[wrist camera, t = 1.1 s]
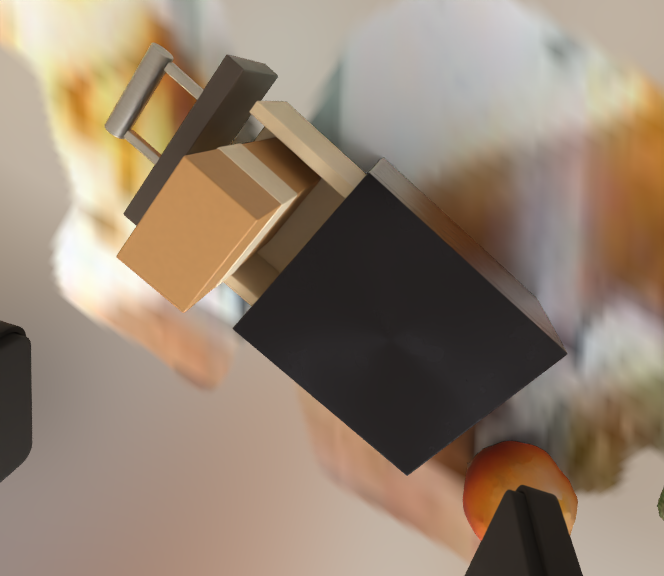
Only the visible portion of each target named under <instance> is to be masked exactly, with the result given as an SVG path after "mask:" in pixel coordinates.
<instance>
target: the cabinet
mask: <svg viewBox="0 0 664 576" xmlns="http://www.w3.org/2000/svg"><path fill="white" fill-rule="evenodd" d="M233 330H235V331H236V332H237V333H238V334H239V335H241V336H242V337H243V338H244V339H245V340H246V341H248V342H249V343H250V344H251V345H252V346H254V347H255V348H256V349H257V350H258V351H260V352H261V353H262V354H263V355H264V356H265V357H267V358H268V359H269V360H270V361H272V362H273V363H274V364H275V365H276V366H277V367H279V368H280V369H281V370H282V371H283V372H284V373H286V374H287V375H288V376H289V377H290V378H292V379H293V380H294V381H295V382H296V383H297V384H299V385H300V386H301V387H302V388H303V389H305V390H306V391H307V392H308V393H309V394H311V395H312V396H313V397H314V398H315V399H316V400H318V401H319V402H320V403H321V404H322V405H324V406H325V407H326V408H327V409H328V410H329V411H331V412H332V413H333V414H334V415H335V416H337V417H338V418H339V419H340V420H341V421H343V422H344V423H345V424H346V425H347V426H348V427H350V428H351V429H352V430H353V431H354V432H356V433H357V434H358V435H359V436H360V437H361V438H363V439H364V440H365V441H366V442H367V443H369V444H370V445H371V446H372V447H373V448H375V449H376V450H377V451H378V452H379V453H380V454H382V455H383V456H384V457H385V458H386V459H388V460H389V461H390V462H391V463H392V464H393V465H395V466H396V467H397V468H398V469H399V470H401V471H402V472H403V473H404V474H405V475H407V476H408V475H409V474H410V473H412V472H413V471H414V470H416V469H417V468H418V467H420V466H421V465H422V464H424V463H425V462H426V461H428V460H429V459H430V458H432V457H433V456H434V455H435V454H437V453H438V452H439V451H441V450H442V449H443V448H445V447H446V446H447V445H449V444H450V443H451V442H453V441H454V440H455V439H456V438H458V437H459V436H460V435H462V434H463V433H464V432H466V431H467V430H468V429H470V428H471V427H472V426H474V425H475V424H476V423H478V422H479V421H480V420H481V419H483V418H484V417H485V416H487V415H488V414H489V413H491V412H492V411H493V410H495V409H496V408H497V407H499V406H500V405H501V404H503V403H504V402H505V401H506V400H508V399H509V398H510V397H512V396H513V395H514V394H516V393H517V392H518V391H520V390H521V389H522V388H524V387H525V386H526V385H528V384H529V383H530V382H531V381H533V380H534V379H535V378H537V377H538V376H539V375H541V374H542V373H543V372H545V371H546V370H547V369H549V368H550V367H551V366H552V365H554V364H555V363H556V362H558V361H559V360H560V359H562V358H563V357H564V356H566V355H567V354H568V353H567V351H566V350H565V348H564V346H563V344H562V342H561V340H560V339H559V337H558V335H557V333H556V331H555V330H554V328H553V326H552V324H551V322H550V320H549V319H548V317H547V315H546V313H545V311H544V310H543V308H542V306H541V304H540V303H539V301H538V299H537V298H536V297H535V296H534V295H533V294H532V293H531V292H529V291H528V290H527V289H526V288H525V287H524V286H523V285H522V284H521V283H520V282H519V281H518V280H516V279H515V278H514V277H513V276H512V275H511V274H510V273H509V272H508V271H507V270H506V269H504V268H503V267H502V266H501V265H500V264H499V263H498V262H497V261H496V260H495V259H494V258H492V257H491V256H490V255H489V254H488V253H487V252H486V251H485V250H484V249H483V248H482V247H481V246H479V245H478V244H477V243H476V242H475V241H474V240H473V239H472V238H471V237H470V236H469V235H467V234H466V233H465V232H464V231H463V230H462V229H461V228H460V227H459V226H458V225H457V224H456V223H454V222H453V221H452V220H451V219H450V218H449V217H448V216H447V215H446V214H445V213H444V212H442V211H441V210H440V209H439V208H438V207H437V206H436V205H435V204H434V203H433V202H432V201H431V200H429V199H428V198H427V197H426V196H425V195H424V194H423V193H422V192H421V191H420V190H419V189H417V188H416V187H415V186H414V185H413V184H412V183H411V182H410V181H409V180H408V179H407V178H405V177H404V176H403V175H402V174H401V173H400V172H399V171H398V170H397V169H396V168H395V167H394V166H392V165H391V164H390V163H389V162H388V161H387V160H386V159H385V158H381V160H380V161H379V162H378V163H377V164H376V165H375V166H374V167H373V168H372V169H371V170H370V171H369V172H368V173H367V175H366V176H365V177H364V178H363V179H362V180H361V181H360V183H359V184H358V185H357V186H356V187H355V188H354V189H353V191H352V192H351V193H350V194H349V195H348V196H347V197H346V199H345V200H344V201H343V202H342V203H341V204H340V206H339V207H338V208H337V209H336V210H335V211H334V212H333V214H332V215H331V216H330V217H329V218H328V219H327V220H326V222H325V223H324V224H323V225H322V226H321V227H320V229H319V230H318V231H317V232H316V233H315V234H314V235H313V237H312V238H311V239H310V240H309V241H308V242H307V243H306V245H305V246H304V247H303V248H302V249H301V250H300V251H299V253H298V254H297V255H296V256H295V257H294V258H293V260H292V261H291V262H290V263H289V264H288V265H287V266H286V268H285V269H284V270H283V271H282V272H281V273H280V274H279V276H278V277H277V278H276V279H275V280H274V281H273V283H272V284H271V285H270V286H269V287H268V288H267V289H266V291H265V292H264V293H263V294H262V295H261V296H260V297H259V299H258V300H257V301H256V302H255V303H254V304H253V306H252V307H251V308H250V309H249V310H248V311H247V312H246V314H245V315H244V316H243V317H242V318H241V319H240V320H239V322H238V323H237V324H236V325H235V326H234V327H233Z"/></svg>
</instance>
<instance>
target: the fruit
mask: <svg viewBox="0 0 664 576" xmlns="http://www.w3.org/2000/svg"><path fill="white" fill-rule="evenodd" d="M467 464H468V466H467V471H466V478H465V485H464V493H463V508H464V512H465V515H466V517H467V520H468V522H469V524H470V526H471V527H472V529H473V531H474V532H475V534H476V535H477V536H478V538H479V539H480V540H481V541H482V539H483V537H484V535H485V533H486V530H487V528H488V526H489V524H490V522H491V520H492V518H493V516H494V514H495V512H496V510H497V508H498V506H499V504H500V502H501V499H502V497H503V495H504V494H505V492H506V491H507V490H513V491H516V489H517V488H518V487H519V486H520V485H526V486H529V487H532V488H535V489H538V490H541V491H545V492H548V493H551V494H554V495H555V496H556V497H557V499H558V501H559V504H560V507H561V510H562V513H563V516H564V519H565V522H566V525H567V528H568V531H569V534H570V535H571V531H572V527H573V525H574V522H575V519H576V514H577V504H578V499H577V496H576V494H575V493H574V491H573V488H572V486H571V484H570V481H569V480H568V478H567V477H566V476H565V475H564V474H563V473H562V472H561V471H560V469H559V468H558V466H557V465H556V463H555V462H554V461H553V459H552V458H551V457H550V455H549V454H548V453H547V452H546V451H544V450H542V449H540V448H539V447H537V446H534V445H531V444H526V443H521V442H517V441H504V442H501V443H498V444H495V445H493V446H489V447H487V448H484V449H482V450H481V451H480V452H479V453H478V454H477V455H476V456H475V457H474V458H473V460H472V461H471V462H470V463H467Z"/></svg>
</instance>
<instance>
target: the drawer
mask: <svg viewBox="0 0 664 576" xmlns="http://www.w3.org/2000/svg"><path fill="white" fill-rule="evenodd" d="M173 59H174V58H173V56H172V55H171V54H170V53H169V52H168V51H167V50H166V49H164V48H163V47H162V46H160V45H158V44H156V43H151V45H150V47H149V49H148V50H147V52H146V54H145V56H144V57H143V59H142V61H141V63H140V64H139V66H138V68H137V69H136V71H135V73H134V75H133V76H132V78H131V80H130V82H129V83H128V85H127V87H126V89H125V90H124V92H123V94H122V96H121V97H120V99H119V101H118V103H117V104H116V106H115V108H114V109H113V111H112V113H111V115H110V116H109V118H108V120H107V122H106V123H105V128H106V130H107V131H108V132H109V133H110V134H112V135H113V136H115V137H117V138H120V139H126V140H127V141H128V142H129V143H131V144H132V145H133V146H134V147H135V148H136V149H138V150H139V151H140V152H141V153H142V154H143V155H144V156H146V157H147V158H148V159H149V160H150V161H151V162H152V163H154V164H155V166H154V167H153V169H152V170H151V172H150V173H149V175H148V177H147V178H146V180H145V181H144V183H143V184H142V186H141V187H140V189H139V190H138V192H137V194H136V195H135V197H134V198H133V200H132V201H131V203H130V204H129V206H128V207H127V209H126V210H125V212H124V215H125V216H126V217H127V218H128V219H129V220H131V221H132V222H133V223H134V224H135V225H136V226H137V225H138V223H139V222H140V220H141V219H142V217H143V216H144V214H145V213H146V211H147V210H148V208H149V207H150V205H151V204H152V202H153V201H154V199H155V198H156V196H157V195H158V194H159V192H160V191H161V189H162V188H163V186H164V185H165V183H166V182H167V180H168V179H169V177H170V176H171V174H172V173H173V171H174V170H175V168H176V167H177V165H178V164H179V162H180V161H181V159H182V158H183V156H185V155H190V154H195V153H200V152H205V151H210V150H215V149H217V148H218V147H223V146H228V145H230V144H231V142H232V141H233V139H234V138H235V137H236V135H237V134H238V132H239V131H240V130H241V128H242V127H243V125H244V124H245V122H246V121H247V120H248V118H249V117H250V115H251V114H252V115H253V116H254V117H255V118H256V119H257V120H258V121H259V122H261V123H262V124H263V125H264V126H265V127H264V128H263V129H262V131H261V132H260V133H259V135H258V136H257V137H256V139H255V140H254V142H255V141H259V140H264V139H269V138H274V137H277V138H278V139H279V140H280V141H281V142H282V143H283V144H284V145H286V146H287V147H288V148H289V149H290V150H291V151H292V152H293V153H294V154H296V155H297V156H298V157H299V158H300V159H301V160H302V161H303V162H304V163H306V164H307V165H308V166H309V167H310V168H311V169H312V170H313V171H314V172H316V173H317V174H318V175H319V176H320V177H321V180H320V181H319V182H318V183H317V185H316V186H315V187H314V188H313V189H312V191H311V192H310V193H309V194H308V195H307V197H306V198H305V199H304V200H303V201H302V203H301V204H300V205H299V206H298V207H297V209H296V210H295V211H294V212H293V214H292V215H291V216H290V217H289V218H288V220H287V221H286V222H285V223H284V224H283V226H282V227H281V228H280V229H279V230H278V232H277V233H276V234H275V235H274V236H273V238H272V239H271V240H270V241H269V242H268V243H267V244H266V245H265V246H263V247H262V248H261V249H260V250H259V251H257V252H256V253H255V254H254V255H253V256H252V257H250V258H249V259H248V260H247V261H246V262H244V263H243V264H242V265H241V266H240V267H239V268H238V269H237V270H236V271H235V272H234V273H233V274H232V275H230V276H229V277H228V278H227V279H226V280H225V281H223V282H224V283H225V284H226V285H227V286H229V287H230V288H231V289H232V290H233V291H235V292H236V293H237V294H238V295H239V296H240V297H242V298H243V299H244V300H245V301H246V302H247V303H249V304H250V305H251V306H253V304H254V303H255V302H256V301H257V300H258V299H259V297H260V296H261V295H262V294H263V293H264V292H265V291H266V289H267V288H268V287H269V286H270V285H271V284H272V283H273V281H274V280H275V279H276V278H277V277H278V276H279V274H280V273H281V272H282V271H283V270H284V269H285V268H286V266H287V265H288V264H289V263H290V262H291V261H292V260H293V258H294V257H295V256H296V255H297V254H298V253H299V251H300V250H301V249H302V248H303V247H304V246H305V245H306V243H307V242H308V241H309V240H310V239H311V238H312V237H313V235H314V234H315V233H316V232H317V231H318V230H319V229H320V227H321V226H322V225H323V224H324V223H325V222H326V220H327V219H328V218H329V217H330V216H331V215H332V214H333V212H334V211H335V210H336V209H337V208H338V207H339V206H340V204H341V203H342V202H343V201H344V200H345V199H346V197H347V196H348V195H349V194H350V193H351V192H352V191H353V189H354V188H355V187H356V186H357V185H358V184H359V183H360V181H361V180H362V179H363V178H364V177H365V176H366V174H365V173H364V172H363V171H362V170H361V169H360V168H359V167H358V166H357V165H355V164H354V163H353V162H352V161H351V160H350V159H349V158H348V157H347V156H346V155H344V154H343V153H342V152H341V151H340V150H339V149H338V148H337V147H336V146H335V145H334V144H332V143H331V142H330V141H329V140H328V139H327V138H326V137H325V136H324V135H323V134H321V133H320V132H319V131H318V130H317V129H316V128H315V127H314V126H313V125H312V124H310V123H309V122H308V121H307V120H306V119H305V118H304V117H303V116H302V115H301V114H300V113H298V112H297V111H296V110H295V109H294V108H293V107H292V106H291V105H290V104H289V103H287V102H283V101H261V100H262V99H263V97H264V96H265V94H266V93H267V91H268V90H269V89H270V87H271V86H272V84H273V83H274V82H275V80H276V79H277V77H278V76H277V74H276V73H274V72H273V71H272V70H271V69H270V68H269V67H268V66H267V65H265V64H263V63H259V62H255V61H251V60H247V59H243V58H240V57H236V56H232V55H228V54H227V55H226V56H225V58H224V59H223V61H222V62H221V64H220V66H219V67H218V69H217V70H216V72H215V73H214V75H213V76H212V78H211V79H210V81H209V83H208V84H207V86H206V87H205V89H204V90H203V89H202V88H201V87H200V86H199V85H198V84H196V83H195V82H194V81H193V80H192V79H191V78H190V77H189V76H187V75H186V74H185V73H184V72H183V71H182V70H181V69H180V68H179V67H177V66H176V65H175V64H174V63H172V61H173ZM165 73H167V74H168V75H170V76H171V77H172V78H173V79H174V80H175V81H176V82H177V83H179V84H180V85H181V86H182V87H183V88H184V89H185V90H186V91H188V92H189V93H190V94H191V95H192V96H193V97H194V98H195V99H197V101H196V103H195V104H194V106H193V107H192V109H191V110H190V112H189V113H188V115H187V116H186V118H185V120H184V121H183V123H182V124H181V126H180V127H179V129H178V130H177V132H176V133H175V135H174V136H173V138H172V140H171V141H170V143H169V144H168V146H167V147H166V149H165V150H164V152H163V153H162V155H161V154H160V153H159V152H158V151H156V150H155V149H154V148H153V147H152V146H151V145H150V144H148V143H147V142H146V141H145V140H144V139H143V138H141V137H140V136H139V135H138V134H137V133H136V132H135V131H133V130H131V129H132V128H133V126H134V124H135V123H136V121H137V119H138V118H139V116H140V114H141V113H142V111H143V109H144V108H145V106H146V104H147V103H148V101H149V99H150V98H151V96H152V94H153V93H154V91H155V89H156V88H157V86H158V84H159V83H160V81H161V79H162V78H163V76H164V74H165Z"/></svg>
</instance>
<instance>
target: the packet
mask: <svg viewBox="0 0 664 576" xmlns="http://www.w3.org/2000/svg"><path fill="white" fill-rule="evenodd" d="M320 180H321V177H320V176H319V175H318V174H317V173H316V172H314V171H313V170H312V169H311V168H310V167H309V166H308V165H307V164H306V163H304V162H303V161H302V160H301V159H300V158H299V157H298V156H297V155H296V154H294V153H293V152H292V151H291V150H290V149H289V148H288V147H287V146H286V145H284V144H283V143H282V142H281V141H280V140H279V139H278V138H277V137H274V138H269V139H264V140H259V141H255V142H250V143H245V144H241V143H238V144H233V145H228V146H223V147H218V148H217V149H215V150H210V151H205V152H200V153H195V154H190V155H185V156H183V158H182V159H181V161H180V162H179V164H178V165H177V167H176V168H175V170H174V171H173V173H172V174H171V176H170V177H169V179H168V180H167V182H166V183H165V185H164V186H163V188H162V189H161V191H160V192H159V194H158V195H157V196H156V198H155V199H154V201H153V202H152V204H151V205H150V207H149V208H148V210H147V211H146V213H145V214H144V216H143V217H142V219H141V220H140V222H139V223H138V225H137V226H136V228H135V229H134V231H133V232H132V234H131V235H130V237H129V238H128V240H127V241H126V243H125V244H124V246H123V247H122V249H121V250H120V252H119V253H118V255H117V258H118V259H119V260H120V261H122V262H123V263H124V264H125V265H126V266H128V267H129V268H130V269H131V270H132V271H134V272H135V273H136V274H137V275H138V276H140V277H141V278H142V279H143V280H144V281H145V282H147V283H148V284H149V285H150V286H151V287H153V288H154V289H155V290H156V291H157V292H159V293H160V294H161V295H162V296H163V297H165V298H166V299H167V300H168V301H169V302H171V303H172V304H173V305H174V306H175V307H177V308H178V309H179V310H180V311H181V312H183V313H185V312H186V311H187V310H188V309H190V308H191V307H192V306H193V305H194V304H195V303H197V302H198V301H199V300H200V299H201V298H203V297H204V296H205V295H206V294H207V293H209V292H210V291H211V290H212V289H213V288H216V287H217V286H219V285H220V284H221V283H222V282H223V281H225V280H226V279H227V278H228V277H229V276H230V275H232V274H233V273H234V272H235V271H236V270H237V269H238V268H239V267H240V266H241V265H242V264H243V263H244V262H246V261H247V260H248V259H249V258H250V257H252V256H253V255H254V254H255V253H256V252H257V251H259V250H260V249H261V248H262V247H263V246H265V245H266V244H267V243H268V242H269V241H270V240H271V239H272V238H273V236H274V235H275V234H276V233H277V232H278V230H279V229H280V228H281V227H282V226H283V224H284V223H285V222H286V221H287V220H288V218H289V217H290V216H291V215H292V214H293V212H294V211H295V210H296V209H297V207H298V206H299V205H300V204H301V203H302V201H303V200H304V199H305V198H306V197H307V195H308V194H309V193H310V192H311V191H312V189H313V188H314V187H315V186H316V185H317V183H318V182H319V181H320Z"/></svg>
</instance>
